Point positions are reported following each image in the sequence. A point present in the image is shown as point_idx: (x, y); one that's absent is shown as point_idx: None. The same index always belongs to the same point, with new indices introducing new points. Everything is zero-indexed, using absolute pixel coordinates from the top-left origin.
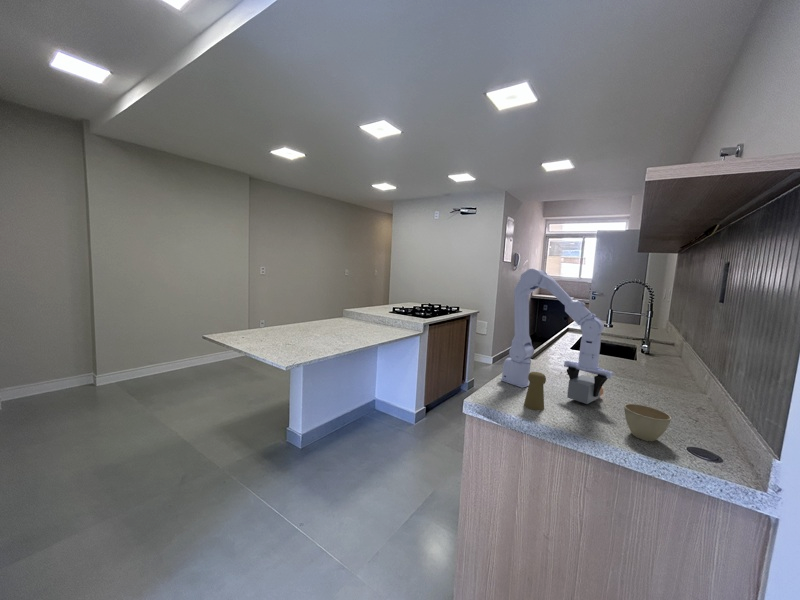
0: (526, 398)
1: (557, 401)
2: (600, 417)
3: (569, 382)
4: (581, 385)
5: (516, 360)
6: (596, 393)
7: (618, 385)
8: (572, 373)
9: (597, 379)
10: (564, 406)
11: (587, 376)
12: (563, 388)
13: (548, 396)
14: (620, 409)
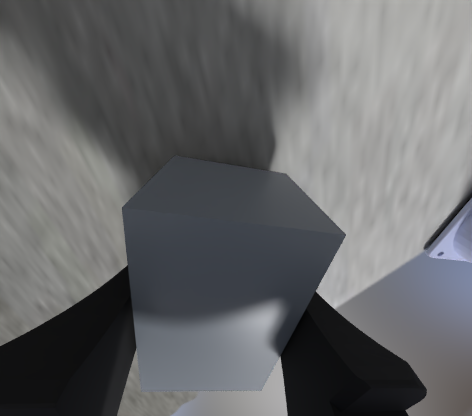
0: None
1: (321, 120)
2: (66, 50)
3: (327, 220)
4: (213, 209)
5: None
6: None
7: (188, 400)
8: (344, 354)
9: (34, 361)
10: (278, 59)
11: (230, 389)
12: None
13: (366, 161)
14: (90, 259)
